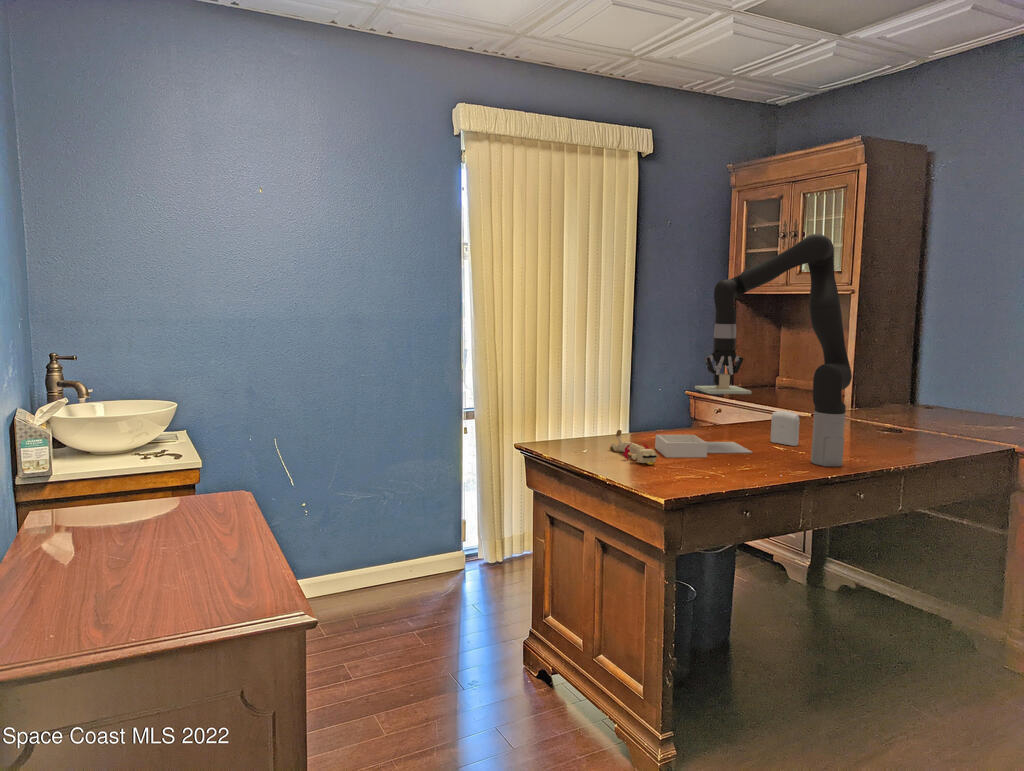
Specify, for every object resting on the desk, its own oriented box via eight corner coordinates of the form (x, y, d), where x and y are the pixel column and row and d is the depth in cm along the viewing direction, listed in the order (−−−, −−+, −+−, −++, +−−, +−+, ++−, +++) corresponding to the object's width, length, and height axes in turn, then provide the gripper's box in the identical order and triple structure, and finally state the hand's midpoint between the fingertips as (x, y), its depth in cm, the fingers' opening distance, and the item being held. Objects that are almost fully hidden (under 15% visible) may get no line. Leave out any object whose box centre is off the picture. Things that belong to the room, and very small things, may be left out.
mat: (752, 453, 247) (752, 452, 247) (704, 453, 246) (704, 452, 246) (733, 442, 264) (734, 441, 264) (689, 442, 263) (689, 441, 263)
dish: (706, 457, 239) (707, 442, 239) (666, 457, 238) (666, 442, 238) (693, 448, 253) (694, 434, 253) (655, 448, 252) (655, 434, 252)
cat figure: (604, 454, 248) (638, 465, 224) (604, 430, 247) (638, 438, 223) (629, 453, 251) (666, 463, 227) (629, 428, 250) (666, 436, 226)
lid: (751, 393, 245) (752, 376, 244) (709, 393, 244) (709, 376, 243) (734, 388, 260) (735, 372, 259) (694, 388, 259) (695, 372, 258)
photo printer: (768, 442, 266) (770, 409, 265) (774, 440, 269) (776, 408, 267) (793, 447, 258) (796, 413, 257) (799, 445, 261) (802, 412, 259)
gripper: (709, 337, 245) (707, 386, 247) (748, 337, 246) (746, 386, 248) (701, 336, 253) (699, 383, 255) (740, 336, 254) (737, 383, 256)
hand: (722, 384), depth 251 cm, fingers closed on lid, 3 cm apart
